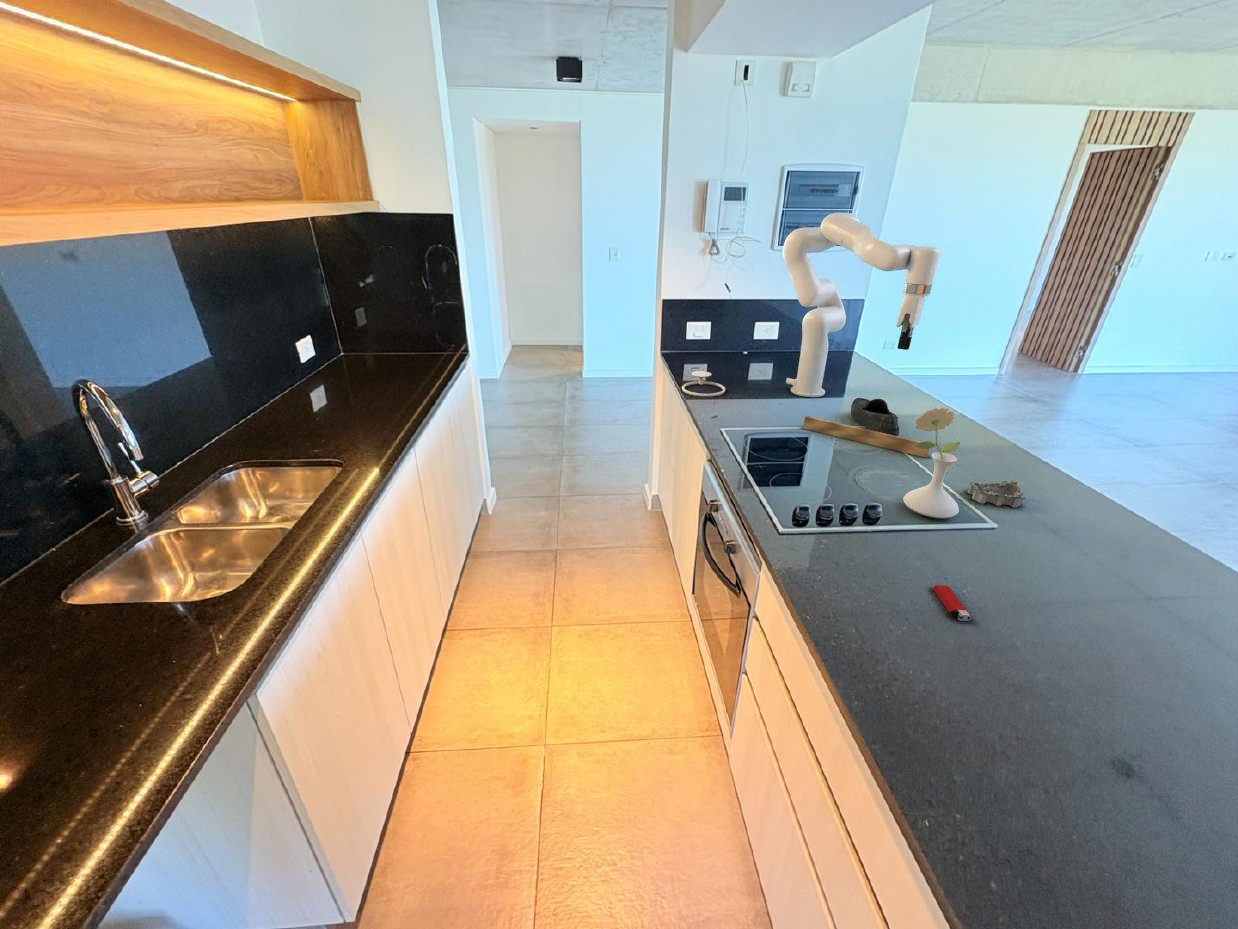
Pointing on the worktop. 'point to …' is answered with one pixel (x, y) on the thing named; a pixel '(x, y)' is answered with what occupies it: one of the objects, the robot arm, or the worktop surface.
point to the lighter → (951, 602)
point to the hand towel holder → (702, 375)
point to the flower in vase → (935, 470)
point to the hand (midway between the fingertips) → (903, 348)
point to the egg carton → (997, 493)
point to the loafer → (875, 416)
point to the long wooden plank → (865, 436)
